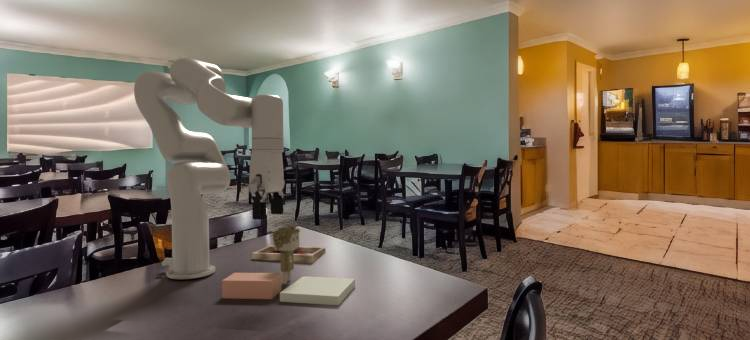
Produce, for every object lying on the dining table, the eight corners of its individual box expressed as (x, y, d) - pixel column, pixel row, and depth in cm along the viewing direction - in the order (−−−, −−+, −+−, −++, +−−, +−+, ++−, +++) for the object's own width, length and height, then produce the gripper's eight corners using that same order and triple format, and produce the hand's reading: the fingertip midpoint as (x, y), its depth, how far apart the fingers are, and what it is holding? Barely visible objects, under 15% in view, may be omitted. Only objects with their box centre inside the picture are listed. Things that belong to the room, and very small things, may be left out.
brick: (222, 299, 97) (222, 280, 97) (234, 290, 104) (234, 272, 104) (272, 300, 96) (271, 281, 96) (281, 291, 103) (281, 273, 103)
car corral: (252, 264, 129) (252, 253, 129) (270, 255, 141) (270, 245, 141) (312, 266, 125) (312, 255, 125) (325, 257, 137) (325, 247, 137)
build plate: (279, 301, 94) (279, 292, 94) (303, 283, 108) (303, 276, 108) (338, 305, 91) (338, 296, 91) (355, 286, 105) (354, 278, 105)
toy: (293, 286, 105) (292, 228, 105) (269, 285, 107) (268, 227, 106) (304, 278, 113) (303, 223, 112) (281, 277, 114) (280, 223, 114)
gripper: (269, 147, 109) (269, 212, 110) (235, 145, 92) (236, 221, 93) (295, 147, 108) (296, 212, 108) (266, 144, 91) (267, 222, 91)
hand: (268, 216), depth 101 cm, fingers open, 9 cm apart
